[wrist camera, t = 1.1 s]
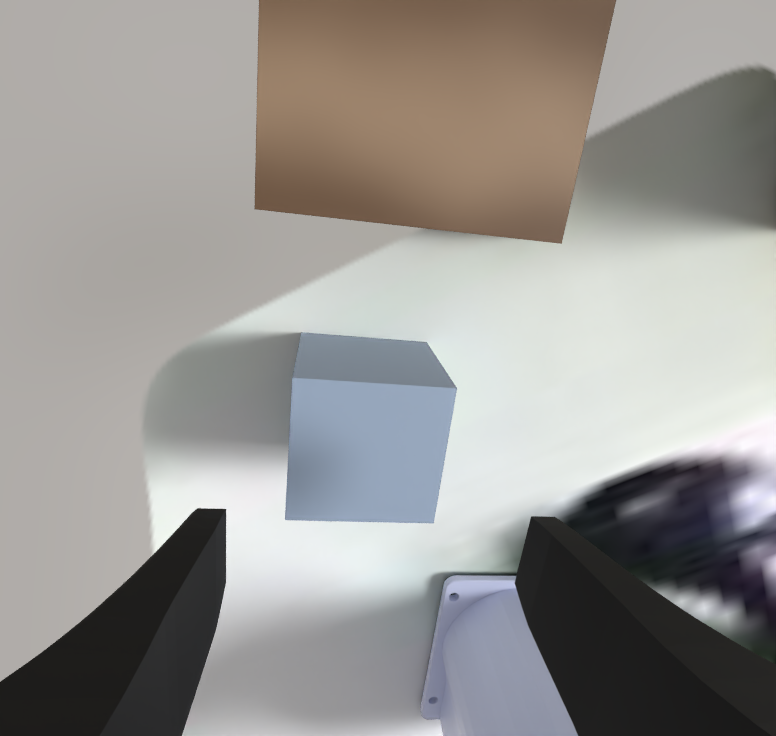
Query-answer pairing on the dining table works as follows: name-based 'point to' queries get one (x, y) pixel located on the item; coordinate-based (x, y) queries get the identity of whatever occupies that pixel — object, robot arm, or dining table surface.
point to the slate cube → (367, 430)
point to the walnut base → (427, 110)
